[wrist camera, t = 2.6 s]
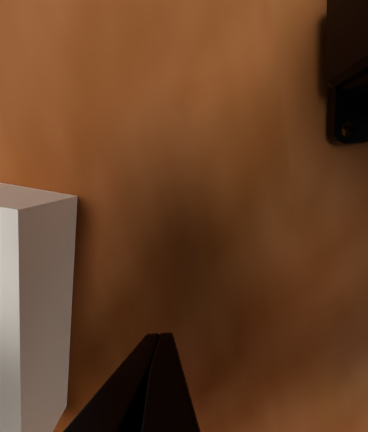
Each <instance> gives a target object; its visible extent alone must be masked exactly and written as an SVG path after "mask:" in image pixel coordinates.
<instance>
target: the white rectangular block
mask: <svg viewBox="0 0 368 432" xmlns="http://www.w3.org/2000/svg"><path fill="white" fill-rule="evenodd" d="M77 198H78V196H75V195H69V194H63V193H58V192H52V191H46V190H40V189H35V188H29V187H23V186H17V185H12V184H6V183H0V432H53V430H54V429H55V427H56V425H57V423H58V421H59V419H60V417H61V416H62V414H63V412H64V410H65V408H66V406H67V391H68V372H69V352H70V333H71V314H72V295H73V275H74V256H75V237H76V217H77Z"/></svg>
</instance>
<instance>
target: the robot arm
mask: <svg viewBox="0 0 368 432" xmlns="http://www.w3.org/2000/svg"><path fill="white" fill-rule="evenodd" d="M325 81H326V83H327V84H328V86H329V92H328V126H327V134H328V139H329V140H330V142H331V143H333V144H335V145H347V144H356V143H364V142H368V0H327V28H326V67H325ZM344 124H345V125H346V126H347V127H348V130H349V131H348V134H347V135H346V136H344V135H343V134H342V131H341V130H342V126H343V125H344ZM63 432H200V429H199V425H198V422H197V418H196V415H195V411H194V407H193V404H192V400H191V397H190V393H189V390H188V386H187V383H186V379H185V375H184V372H183V368H182V365H181V361H180V358H179V354H178V351H177V347H176V344H175V340H174V336H173V334H172V333H161V334H158V333H155V334H147V335H146V336H145V337H144V338H143V339H142V341H141V342H140V343H139V344H138V345H137V346H136V348H135V349H134V350H133V351H132V352H131V353H130V354H129V356H128V357H127V358H126V359H125V360H124V361H123V363H122V364H121V365H120V366H119V367H118V368H117V370H116V371H115V372H114V373H113V374H112V375H111V377H110V378H109V379H108V380H107V381H106V382H105V384H104V385H103V386H102V387H101V388H100V389H99V390H98V392H97V393H96V394H95V395H94V396H93V397H92V399H91V400H90V401H89V402H88V403H87V404H86V406H85V407H84V408H83V409H82V410H81V411H80V413H79V414H78V415H77V416H76V417H75V418H74V420H73V421H72V422H71V423H70V424H69V425H68V426H67V428H66V429H65V430H64V431H63Z"/></svg>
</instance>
